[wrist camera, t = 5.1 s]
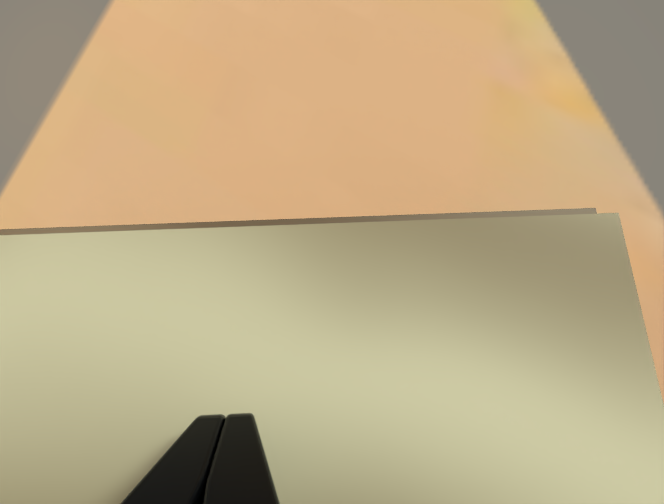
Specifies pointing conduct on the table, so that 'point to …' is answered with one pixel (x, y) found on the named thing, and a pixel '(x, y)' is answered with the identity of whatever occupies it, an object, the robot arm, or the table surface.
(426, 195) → the table surface
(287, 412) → the pale yellow square slab
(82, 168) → the table surface
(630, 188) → the table surface
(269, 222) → the floor base
